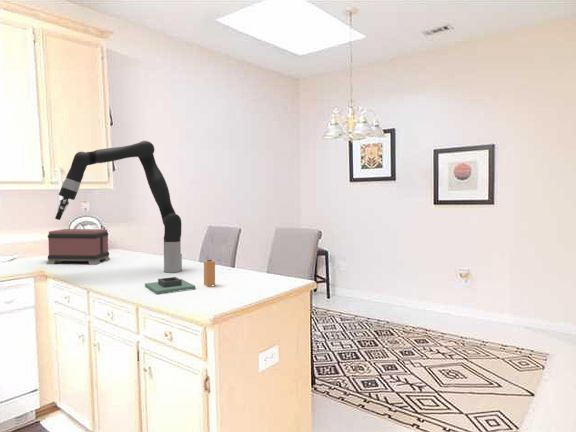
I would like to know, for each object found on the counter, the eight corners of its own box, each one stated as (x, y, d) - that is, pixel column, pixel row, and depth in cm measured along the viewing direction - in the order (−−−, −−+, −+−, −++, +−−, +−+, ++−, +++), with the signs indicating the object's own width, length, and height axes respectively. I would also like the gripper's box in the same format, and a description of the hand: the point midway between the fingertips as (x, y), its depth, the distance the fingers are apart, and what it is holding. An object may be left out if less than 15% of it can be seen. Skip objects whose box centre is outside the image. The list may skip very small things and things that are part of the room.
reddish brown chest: (60, 259, 268) (59, 228, 267) (110, 260, 267) (110, 229, 266) (41, 264, 249) (40, 231, 247) (95, 265, 248) (95, 232, 246)
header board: (181, 282, 202) (181, 274, 202) (195, 289, 187) (195, 280, 187) (144, 286, 192) (144, 278, 191) (156, 294, 177) (156, 285, 177)
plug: (211, 284, 197) (211, 258, 197) (215, 285, 194) (214, 260, 193) (203, 285, 195) (203, 259, 194) (207, 287, 192) (207, 260, 191)
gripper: (77, 191, 199) (65, 222, 198) (77, 191, 212) (66, 220, 210) (61, 186, 196) (48, 217, 194) (62, 186, 209) (50, 215, 207)
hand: (57, 218), depth 202 cm, fingers open, 8 cm apart
